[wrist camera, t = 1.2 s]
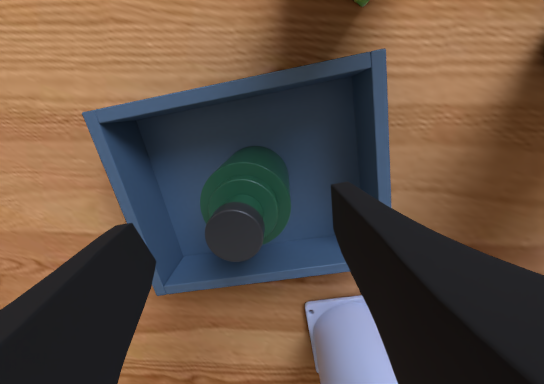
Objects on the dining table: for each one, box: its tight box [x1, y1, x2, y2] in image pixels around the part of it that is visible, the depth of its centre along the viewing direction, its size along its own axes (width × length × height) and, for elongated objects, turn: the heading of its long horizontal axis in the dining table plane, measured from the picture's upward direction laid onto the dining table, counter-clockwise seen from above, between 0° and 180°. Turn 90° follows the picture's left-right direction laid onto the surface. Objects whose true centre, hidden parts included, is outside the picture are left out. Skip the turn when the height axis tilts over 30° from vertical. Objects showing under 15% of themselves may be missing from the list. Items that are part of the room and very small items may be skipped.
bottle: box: [200, 146, 291, 262], centre depth 15 cm, size 5×5×9 cm
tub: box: [82, 49, 391, 296], centre depth 18 cm, size 18×14×5 cm
